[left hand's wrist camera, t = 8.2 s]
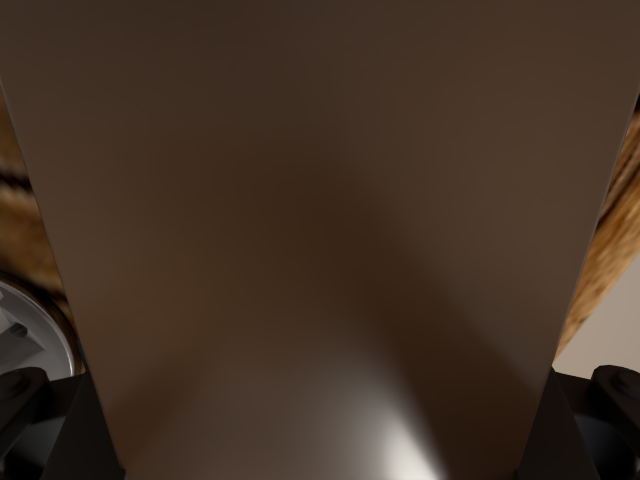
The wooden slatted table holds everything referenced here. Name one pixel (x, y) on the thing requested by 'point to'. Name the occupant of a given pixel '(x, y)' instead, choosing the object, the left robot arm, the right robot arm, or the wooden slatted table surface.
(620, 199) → the wooden slatted table surface
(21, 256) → the wooden slatted table surface
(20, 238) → the wooden slatted table surface
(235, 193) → the box
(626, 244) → the wooden slatted table surface
